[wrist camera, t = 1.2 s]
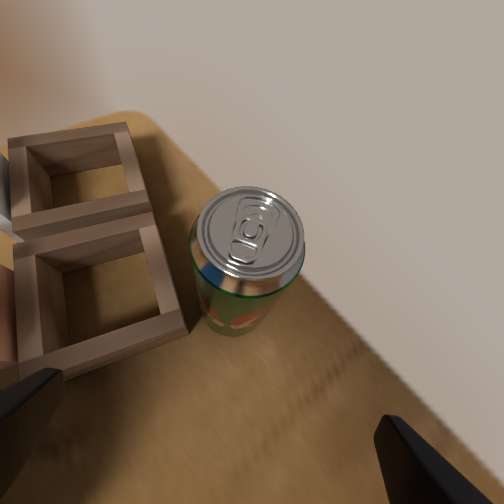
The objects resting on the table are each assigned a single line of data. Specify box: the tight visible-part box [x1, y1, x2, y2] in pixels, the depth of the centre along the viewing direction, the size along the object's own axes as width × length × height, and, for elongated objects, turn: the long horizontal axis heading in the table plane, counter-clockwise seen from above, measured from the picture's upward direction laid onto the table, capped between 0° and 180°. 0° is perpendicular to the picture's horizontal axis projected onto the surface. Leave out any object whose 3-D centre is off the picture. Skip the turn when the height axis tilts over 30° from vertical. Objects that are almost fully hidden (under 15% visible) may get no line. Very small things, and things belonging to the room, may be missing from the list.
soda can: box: [189, 186, 305, 337], centre depth 16 cm, size 5×5×12 cm
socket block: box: [0, 122, 189, 381], centre depth 19 cm, size 19×10×6 cm, turn 22°
